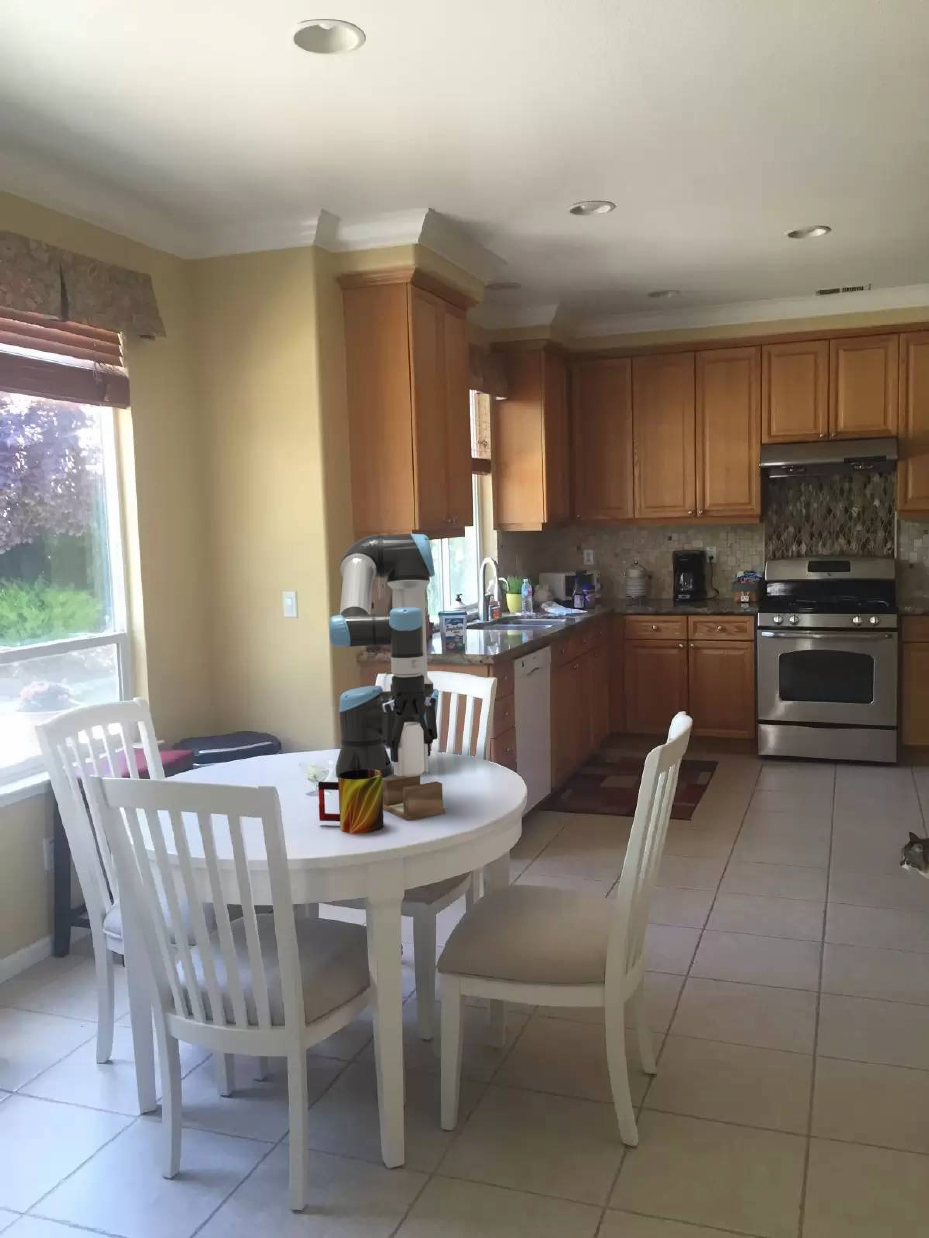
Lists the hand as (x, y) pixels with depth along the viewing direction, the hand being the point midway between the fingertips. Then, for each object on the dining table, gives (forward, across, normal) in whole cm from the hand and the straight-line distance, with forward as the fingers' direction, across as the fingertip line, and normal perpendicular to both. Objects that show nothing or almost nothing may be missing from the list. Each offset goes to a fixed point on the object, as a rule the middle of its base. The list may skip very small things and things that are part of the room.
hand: (411, 772), depth 238 cm
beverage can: (+1, 0, 0) cm, 1 cm away
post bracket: (+9, 0, 0) cm, 9 cm away
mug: (+9, -17, -3) cm, 20 cm away
